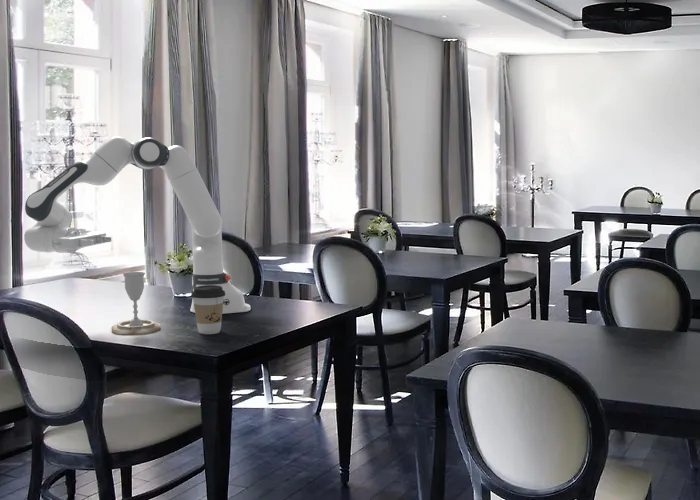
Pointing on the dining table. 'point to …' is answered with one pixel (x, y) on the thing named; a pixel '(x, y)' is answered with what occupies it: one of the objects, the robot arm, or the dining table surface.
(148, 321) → the beige ring base
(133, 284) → the chalice
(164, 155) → the robot arm
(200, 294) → the coffee cup
